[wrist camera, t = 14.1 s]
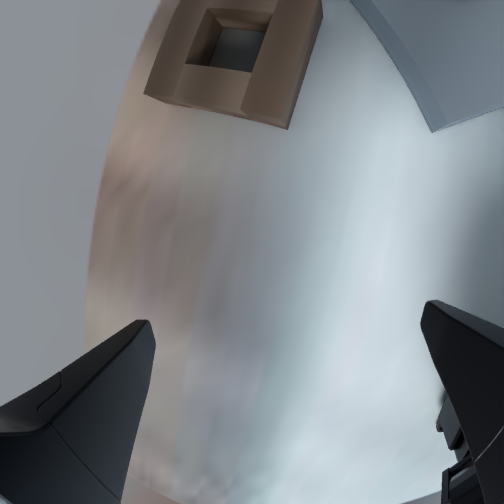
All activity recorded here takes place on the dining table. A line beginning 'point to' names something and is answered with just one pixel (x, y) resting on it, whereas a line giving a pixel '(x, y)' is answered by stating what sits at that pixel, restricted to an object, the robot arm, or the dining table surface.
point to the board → (444, 53)
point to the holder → (232, 81)
